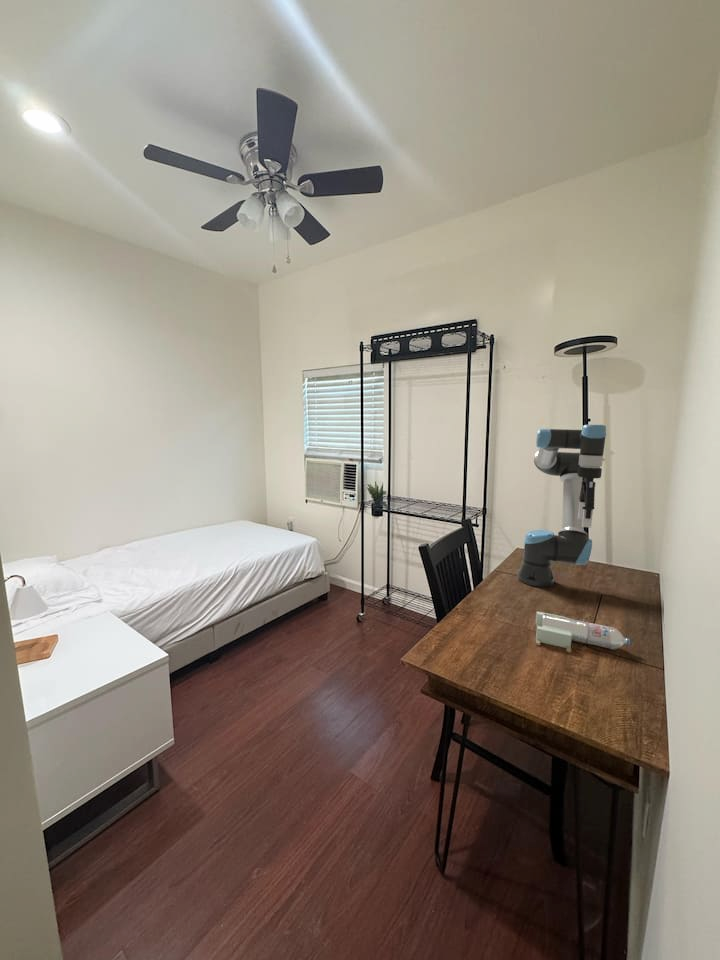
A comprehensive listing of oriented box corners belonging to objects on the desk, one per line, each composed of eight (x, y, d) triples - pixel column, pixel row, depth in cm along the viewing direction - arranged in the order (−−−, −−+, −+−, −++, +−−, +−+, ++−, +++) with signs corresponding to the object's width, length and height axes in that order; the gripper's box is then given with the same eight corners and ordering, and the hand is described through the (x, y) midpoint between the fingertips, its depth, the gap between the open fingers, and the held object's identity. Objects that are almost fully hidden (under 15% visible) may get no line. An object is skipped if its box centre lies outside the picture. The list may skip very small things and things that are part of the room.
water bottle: (541, 637, 129) (630, 657, 118) (543, 619, 127) (633, 638, 117) (541, 626, 135) (625, 644, 124) (542, 609, 133) (628, 626, 123)
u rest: (536, 644, 124) (537, 631, 123) (535, 620, 140) (536, 608, 139) (570, 652, 120) (572, 639, 119) (566, 626, 136) (567, 614, 135)
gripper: (608, 470, 128) (601, 532, 131) (596, 464, 150) (591, 516, 153) (582, 469, 131) (576, 529, 134) (575, 463, 153) (569, 514, 156)
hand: (584, 522), depth 144 cm, fingers open, 13 cm apart
